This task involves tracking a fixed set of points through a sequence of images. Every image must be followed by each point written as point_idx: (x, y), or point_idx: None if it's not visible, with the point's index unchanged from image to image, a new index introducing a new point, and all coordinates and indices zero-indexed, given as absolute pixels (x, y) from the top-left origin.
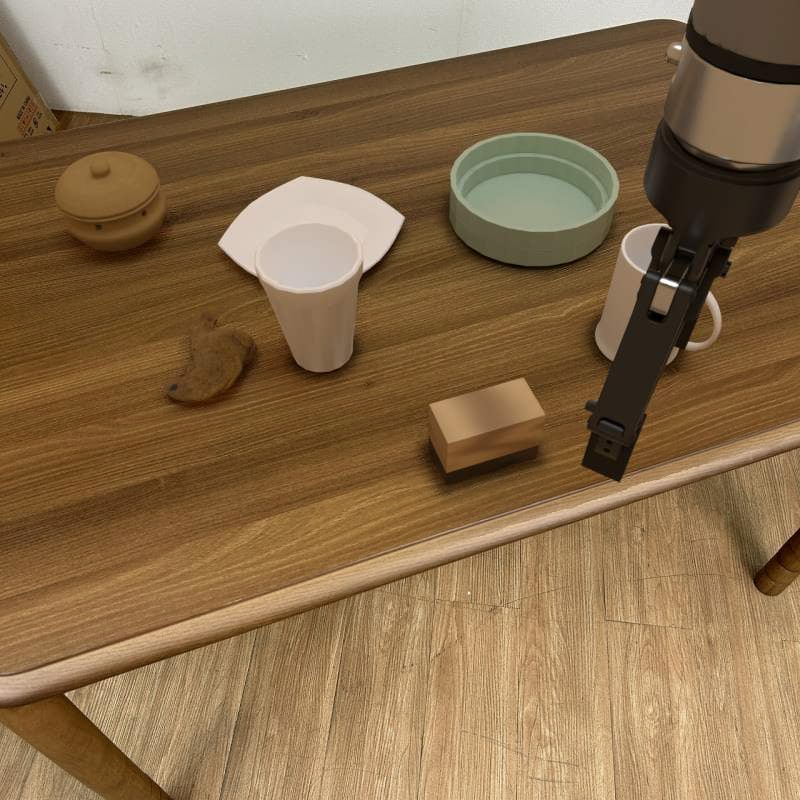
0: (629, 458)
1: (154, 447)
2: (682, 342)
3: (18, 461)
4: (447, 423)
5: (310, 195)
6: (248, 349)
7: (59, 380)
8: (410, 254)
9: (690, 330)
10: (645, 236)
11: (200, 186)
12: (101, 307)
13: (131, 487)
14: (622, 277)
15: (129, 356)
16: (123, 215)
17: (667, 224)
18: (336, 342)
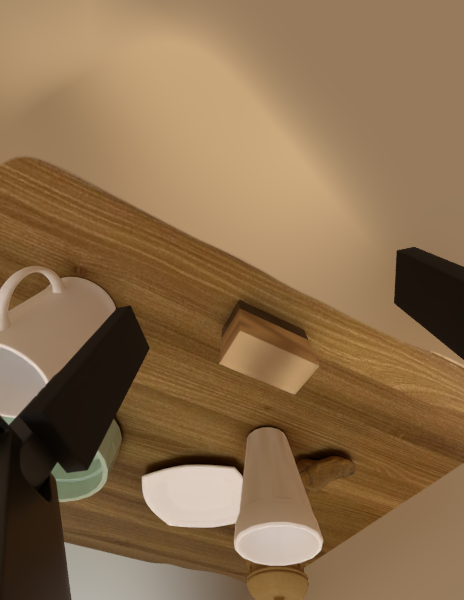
0: (448, 265)
1: (384, 451)
2: (128, 317)
3: (428, 481)
4: (302, 376)
5: (176, 513)
6: (306, 470)
7: (374, 500)
8: (159, 452)
9: (113, 329)
10: (1, 399)
11: (216, 539)
12: (321, 516)
13: (413, 442)
14: None
15: (340, 492)
16: (288, 569)
17: None
18: (276, 452)
